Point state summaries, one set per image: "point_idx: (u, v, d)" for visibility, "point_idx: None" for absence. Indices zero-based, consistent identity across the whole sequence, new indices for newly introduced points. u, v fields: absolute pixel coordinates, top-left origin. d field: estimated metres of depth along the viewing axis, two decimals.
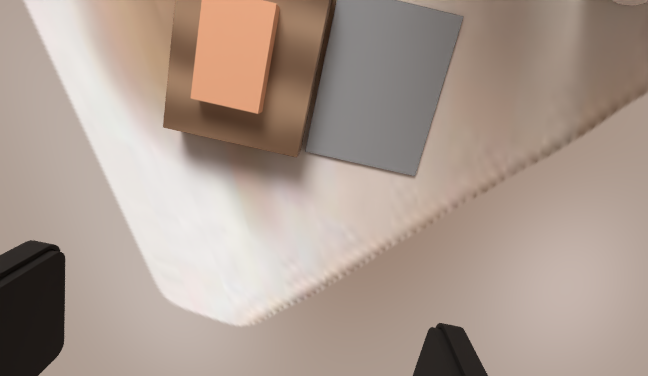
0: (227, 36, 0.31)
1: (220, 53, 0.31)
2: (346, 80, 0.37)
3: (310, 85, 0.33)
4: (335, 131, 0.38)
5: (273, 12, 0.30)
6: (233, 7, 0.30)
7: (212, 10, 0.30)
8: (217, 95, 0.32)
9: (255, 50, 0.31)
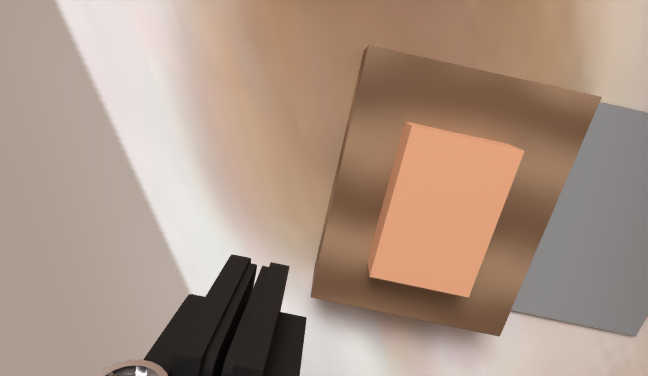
0: (439, 195, 0.20)
1: (424, 218, 0.20)
2: (558, 217, 0.26)
3: (536, 246, 0.23)
4: (532, 281, 0.27)
5: (518, 163, 0.19)
6: (455, 156, 0.19)
7: (421, 160, 0.19)
8: (411, 273, 0.21)
9: (479, 214, 0.20)
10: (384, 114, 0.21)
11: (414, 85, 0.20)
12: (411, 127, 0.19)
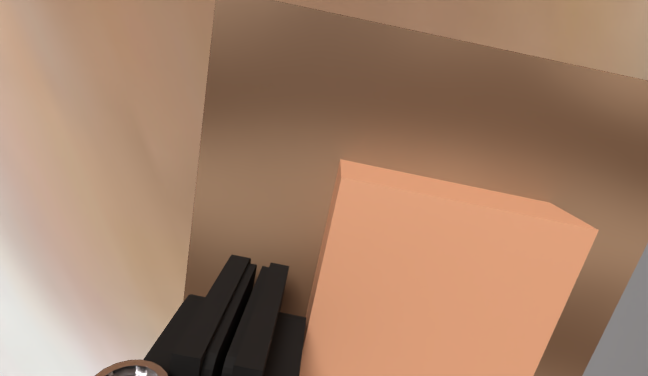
0: (409, 322, 0.09)
1: (380, 366, 0.10)
2: None
3: None
4: None
5: (582, 258, 0.09)
6: (441, 241, 0.09)
7: (366, 250, 0.09)
8: None
9: (496, 359, 0.09)
10: (266, 136, 0.10)
11: (322, 74, 0.10)
12: (341, 179, 0.08)
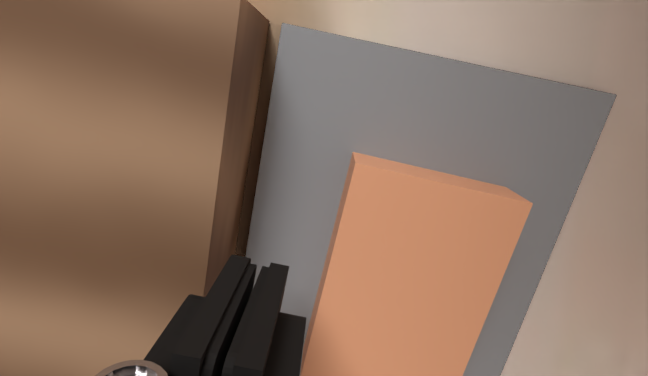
0: None
1: None
2: (309, 246, 0.15)
3: None
4: None
5: (349, 170, 0.14)
6: None
7: None
8: None
9: None
10: None
11: None
12: (506, 189, 0.14)
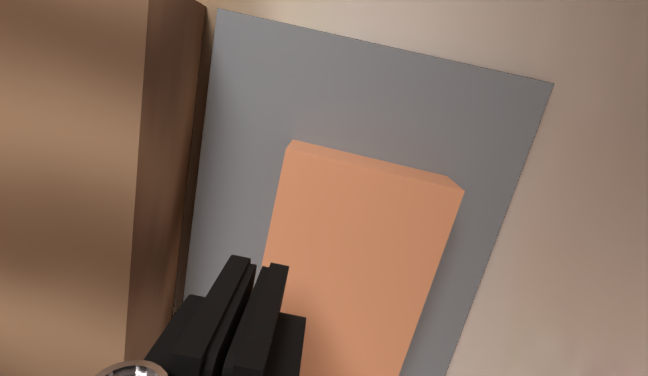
0: None
1: None
2: (253, 234, 0.15)
3: (124, 295, 0.12)
4: None
5: None
6: None
7: None
8: None
9: None
10: None
11: None
12: (446, 178, 0.14)
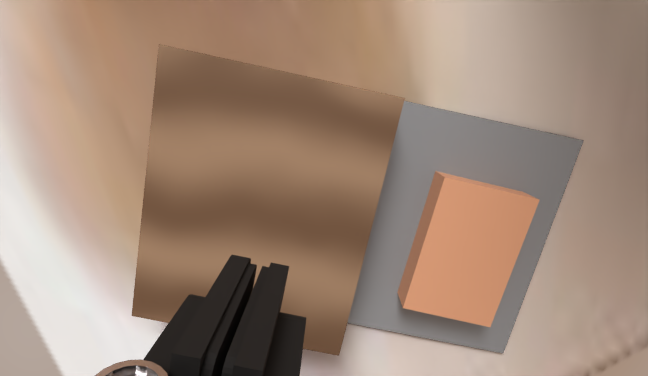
0: None
1: None
2: (406, 227, 0.25)
3: (362, 256, 0.21)
4: (389, 295, 0.26)
5: (433, 181, 0.24)
6: None
7: None
8: None
9: None
10: (185, 116, 0.20)
11: (211, 85, 0.19)
12: (522, 193, 0.24)
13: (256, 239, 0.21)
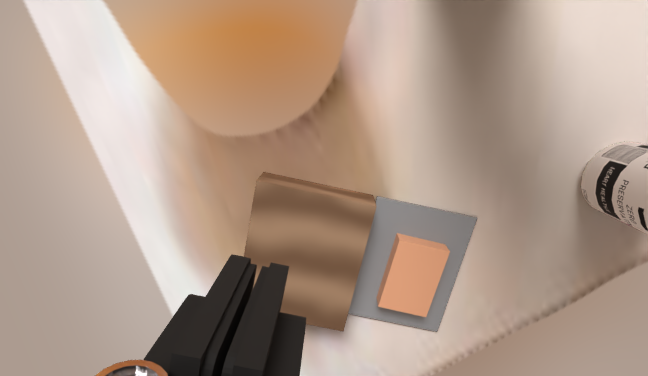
0: None
1: None
2: (381, 262, 0.45)
3: (355, 281, 0.42)
4: (371, 299, 0.46)
5: (395, 238, 0.44)
6: None
7: None
8: None
9: None
10: (267, 213, 0.40)
11: (281, 199, 0.39)
12: (445, 245, 0.44)
13: (301, 272, 0.41)
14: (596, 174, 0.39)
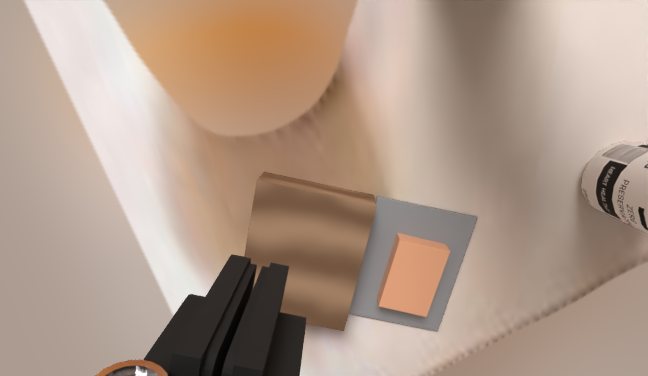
0: None
1: None
2: (381, 262, 0.45)
3: (356, 281, 0.42)
4: (372, 298, 0.46)
5: (395, 238, 0.44)
6: None
7: None
8: None
9: None
10: (268, 213, 0.40)
11: (281, 199, 0.39)
12: (445, 244, 0.44)
13: (301, 271, 0.41)
14: (596, 174, 0.39)
